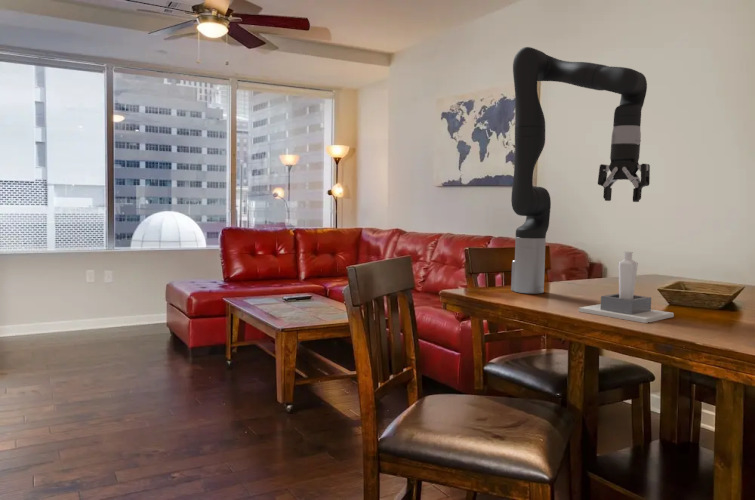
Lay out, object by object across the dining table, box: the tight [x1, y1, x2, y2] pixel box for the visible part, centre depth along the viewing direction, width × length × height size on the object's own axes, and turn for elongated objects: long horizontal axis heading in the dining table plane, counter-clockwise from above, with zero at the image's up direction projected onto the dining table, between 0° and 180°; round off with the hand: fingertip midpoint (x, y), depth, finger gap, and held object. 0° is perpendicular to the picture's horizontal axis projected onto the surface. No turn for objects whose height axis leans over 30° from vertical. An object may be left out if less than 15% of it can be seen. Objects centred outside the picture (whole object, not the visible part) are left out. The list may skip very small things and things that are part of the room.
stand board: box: [578, 303, 675, 324], centre depth 153 cm, size 18×14×1 cm
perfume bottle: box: [618, 251, 638, 300], centre depth 152 cm, size 5×4×15 cm
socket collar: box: [600, 292, 652, 315], centre depth 153 cm, size 8×9×4 cm
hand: (621, 201), depth 168 cm, fingers open, 8 cm apart
